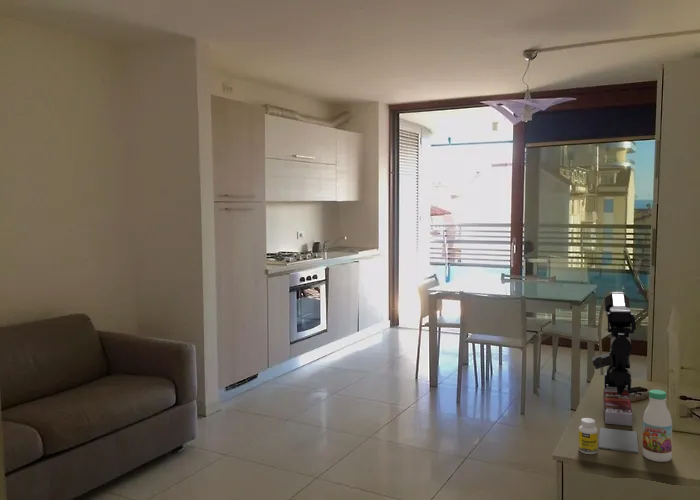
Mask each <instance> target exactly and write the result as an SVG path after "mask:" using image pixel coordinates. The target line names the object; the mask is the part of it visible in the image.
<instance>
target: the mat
mask: <svg viewBox="0 0 700 500" xmlns="http://www.w3.org/2000/svg"><path fill="white" fill-rule="evenodd" d="M598 438H599V439H598V440H599V441H598V449H600V448H604V449H603V450H608V449H610V450H609V451H618V452H623V453H624V452H626V453H631V454H632V453H633V454H634V453H635V454H639V444H638V432H637V431H632V430H631V431H630V430H625V429H624V430H622V429H615V428H614V429H613V428H605V427H599V437H598Z"/></svg>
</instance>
